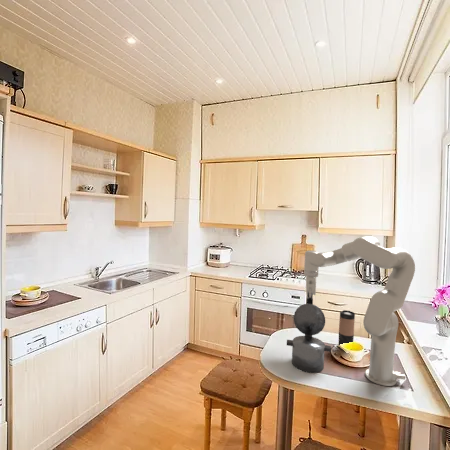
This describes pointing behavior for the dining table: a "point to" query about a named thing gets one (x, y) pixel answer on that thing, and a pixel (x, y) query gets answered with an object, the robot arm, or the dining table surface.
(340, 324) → the travel mug
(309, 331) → the lid
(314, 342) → the cooker pot
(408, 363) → the dining table surface
